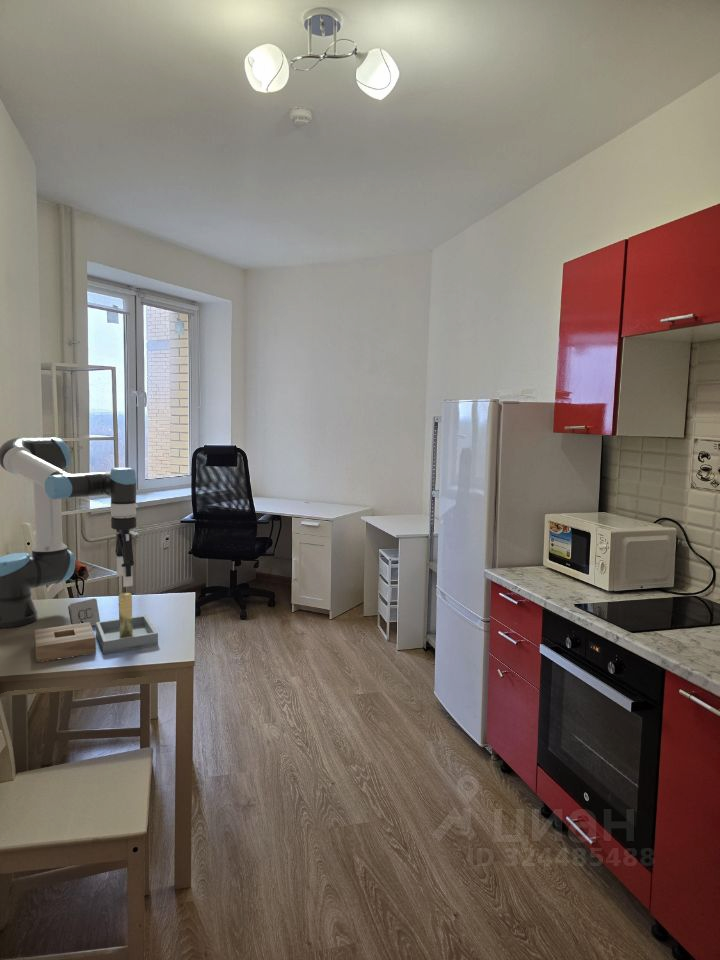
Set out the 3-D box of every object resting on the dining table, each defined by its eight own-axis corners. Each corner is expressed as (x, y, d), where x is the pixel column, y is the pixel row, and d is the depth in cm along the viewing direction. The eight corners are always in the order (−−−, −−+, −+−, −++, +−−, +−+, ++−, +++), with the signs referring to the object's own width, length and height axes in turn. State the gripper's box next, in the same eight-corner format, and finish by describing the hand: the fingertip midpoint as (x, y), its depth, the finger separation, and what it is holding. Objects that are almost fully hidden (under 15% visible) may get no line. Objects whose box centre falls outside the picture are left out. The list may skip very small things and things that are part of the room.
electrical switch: (74, 631, 201) (72, 604, 201) (67, 629, 204) (65, 602, 204) (101, 624, 208) (99, 598, 208) (93, 623, 211) (91, 597, 211)
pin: (118, 635, 195) (117, 593, 194) (131, 633, 197) (130, 592, 196) (120, 639, 191) (119, 597, 190) (133, 637, 193) (132, 595, 192)
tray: (96, 633, 199) (95, 622, 198) (146, 626, 207) (145, 615, 206) (103, 654, 182) (103, 641, 181) (158, 645, 190) (157, 633, 189)
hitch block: (35, 645, 188) (34, 629, 188) (90, 636, 196) (89, 622, 196) (36, 663, 174) (36, 646, 174) (96, 653, 182) (95, 637, 182)
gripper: (143, 521, 182) (143, 589, 184) (129, 509, 203) (130, 570, 205) (117, 523, 178) (117, 592, 180) (105, 510, 199) (106, 572, 201)
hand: (124, 580), depth 193 cm, fingers open, 13 cm apart
